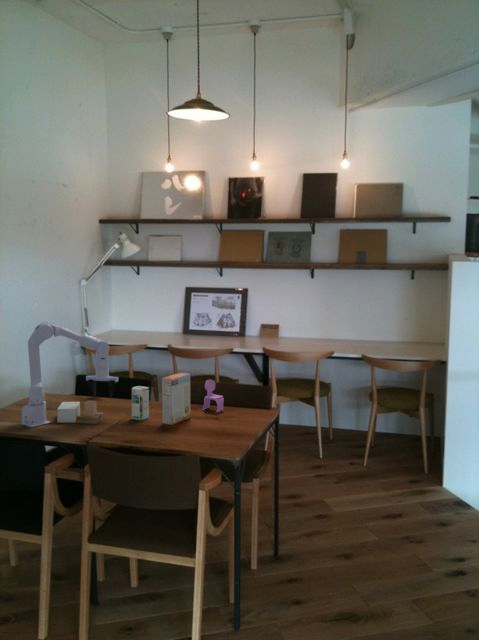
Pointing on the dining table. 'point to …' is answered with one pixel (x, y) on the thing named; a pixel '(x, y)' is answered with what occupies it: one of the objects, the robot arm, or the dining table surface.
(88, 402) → the terracotta block
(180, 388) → the cracker box
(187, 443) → the dining table surface
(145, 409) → the syrup box
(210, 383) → the toy chair
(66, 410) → the small box
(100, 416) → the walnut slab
